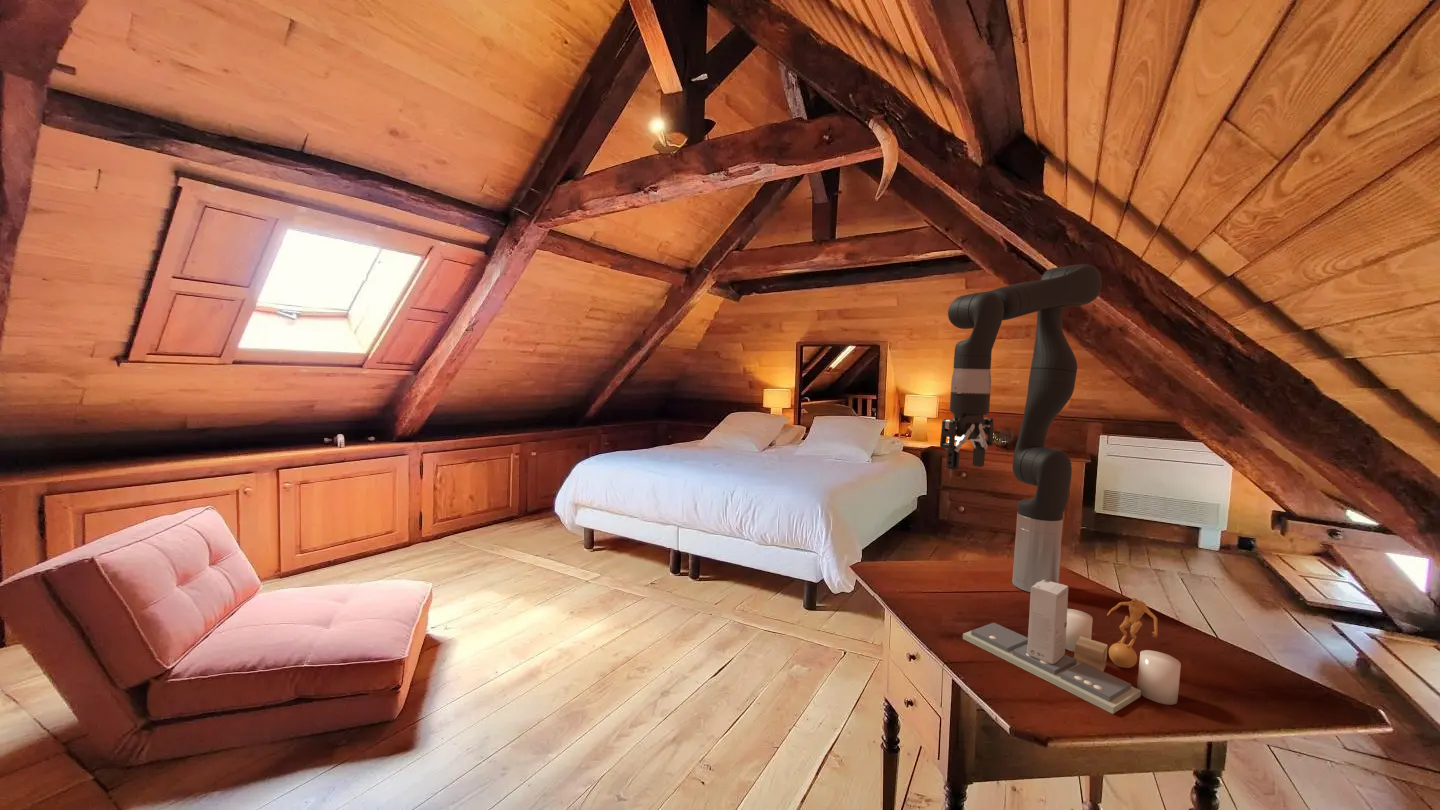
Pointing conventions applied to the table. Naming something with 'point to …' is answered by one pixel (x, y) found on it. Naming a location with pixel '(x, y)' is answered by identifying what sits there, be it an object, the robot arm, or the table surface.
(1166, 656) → the white pillar candle
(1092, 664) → the beech block
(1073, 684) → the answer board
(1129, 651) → the figurine
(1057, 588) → the skincare box
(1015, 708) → the table surface
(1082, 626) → the white rounded cylinder
